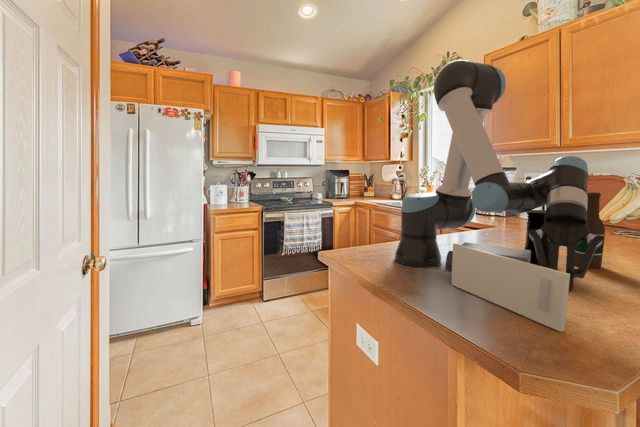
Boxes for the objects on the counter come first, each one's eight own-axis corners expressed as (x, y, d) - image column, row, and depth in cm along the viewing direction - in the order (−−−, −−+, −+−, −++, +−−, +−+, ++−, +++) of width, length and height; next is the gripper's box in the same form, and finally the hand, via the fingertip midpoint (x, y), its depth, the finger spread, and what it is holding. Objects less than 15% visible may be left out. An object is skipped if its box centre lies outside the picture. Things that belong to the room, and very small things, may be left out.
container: (543, 262, 106) (548, 209, 104) (561, 269, 97) (566, 212, 95) (515, 261, 107) (520, 209, 105) (530, 269, 98) (535, 212, 96)
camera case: (528, 287, 82) (531, 250, 81) (524, 299, 74) (527, 258, 73) (452, 273, 94) (454, 241, 92) (442, 282, 86) (444, 247, 84)
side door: (564, 330, 58) (570, 273, 57) (556, 332, 57) (561, 275, 56) (453, 283, 84) (455, 243, 83) (446, 284, 83) (448, 244, 82)
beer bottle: (595, 270, 96) (603, 193, 93) (566, 264, 103) (573, 192, 100) (606, 267, 100) (615, 192, 97) (577, 261, 107) (584, 191, 104)
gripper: (601, 223, 70) (601, 321, 59) (531, 218, 78) (519, 304, 67) (606, 201, 65) (608, 304, 54) (531, 199, 73) (519, 287, 62)
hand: (559, 304), depth 60 cm, fingers closed
